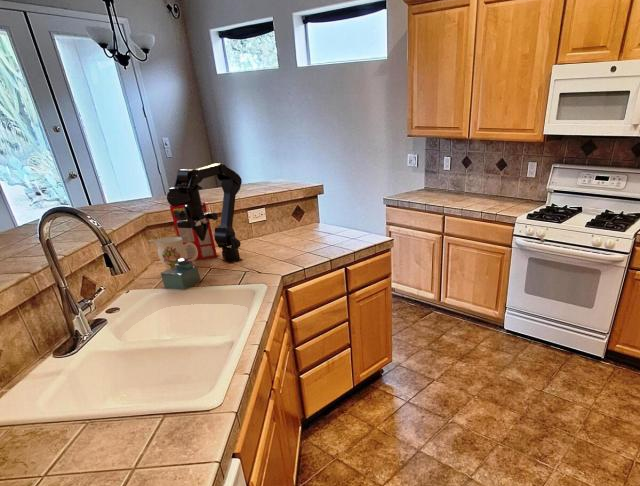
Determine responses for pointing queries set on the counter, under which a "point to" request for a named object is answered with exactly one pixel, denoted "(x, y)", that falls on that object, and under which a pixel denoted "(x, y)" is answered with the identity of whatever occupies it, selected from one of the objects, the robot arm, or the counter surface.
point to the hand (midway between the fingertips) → (202, 240)
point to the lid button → (183, 261)
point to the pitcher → (172, 250)
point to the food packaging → (195, 237)
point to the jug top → (181, 276)
